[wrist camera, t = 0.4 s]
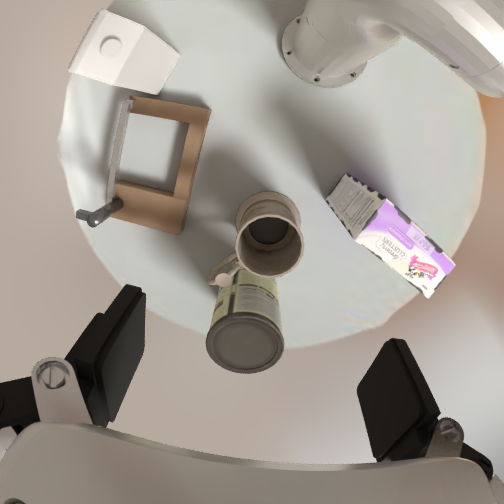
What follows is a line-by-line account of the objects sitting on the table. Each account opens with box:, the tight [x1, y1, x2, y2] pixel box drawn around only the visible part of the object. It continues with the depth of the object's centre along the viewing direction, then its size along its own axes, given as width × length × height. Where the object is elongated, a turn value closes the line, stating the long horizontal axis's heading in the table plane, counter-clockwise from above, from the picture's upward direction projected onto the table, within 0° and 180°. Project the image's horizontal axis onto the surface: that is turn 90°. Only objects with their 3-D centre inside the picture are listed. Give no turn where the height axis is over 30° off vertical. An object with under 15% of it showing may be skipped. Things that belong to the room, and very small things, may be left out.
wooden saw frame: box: [110, 96, 211, 235], centre depth 42 cm, size 19×12×2 cm, turn 164°
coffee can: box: [206, 267, 284, 374], centre depth 45 cm, size 10×10×14 cm
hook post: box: [76, 198, 124, 227], centre depth 39 cm, size 2×4×8 cm, turn 74°
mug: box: [207, 191, 304, 287], centre depth 41 cm, size 14×10×12 cm
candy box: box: [325, 173, 455, 298], centre depth 37 cm, size 14×6×16 cm, turn 56°
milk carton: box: [68, 9, 181, 95], centre depth 28 cm, size 7×7×19 cm
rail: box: [106, 99, 136, 204], centre depth 40 cm, size 16×1×4 cm, turn 164°
